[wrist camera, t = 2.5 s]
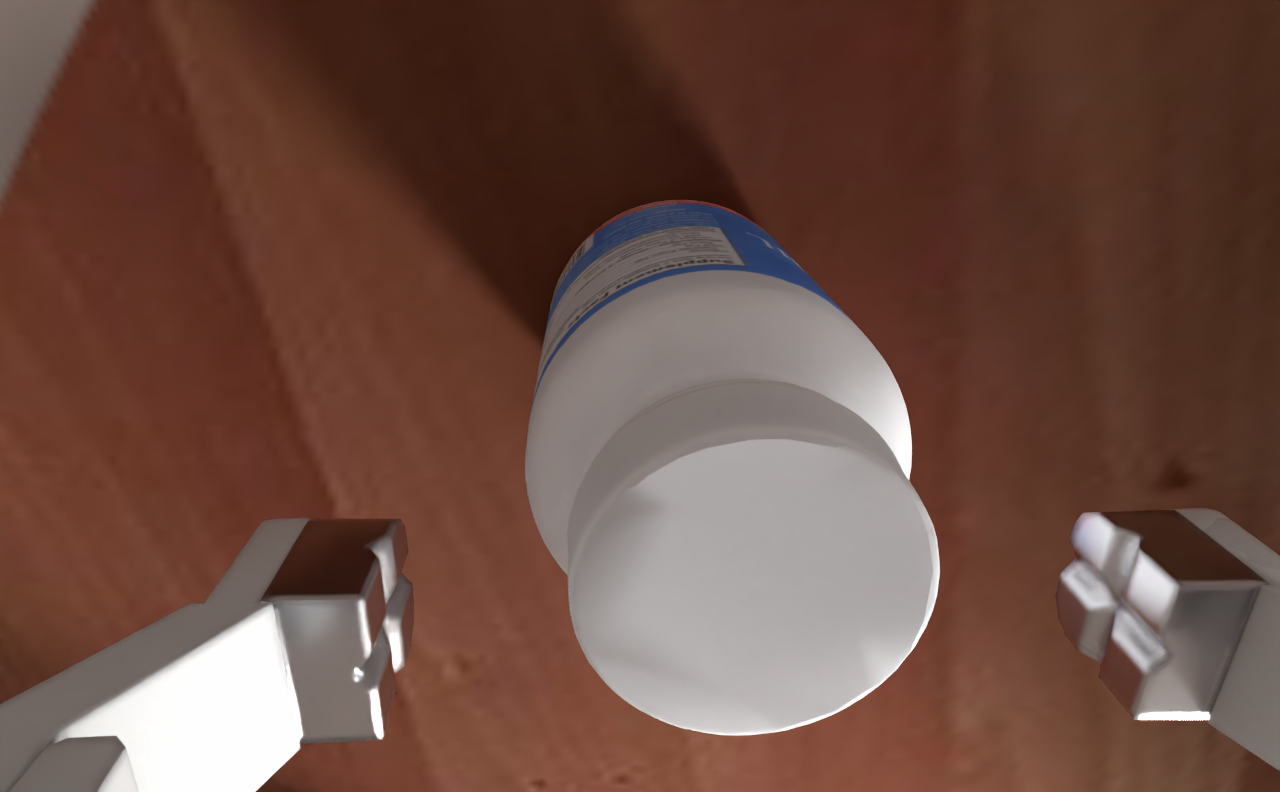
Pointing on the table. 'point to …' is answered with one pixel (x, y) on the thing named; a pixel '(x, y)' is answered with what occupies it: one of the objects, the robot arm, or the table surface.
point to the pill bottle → (724, 477)
